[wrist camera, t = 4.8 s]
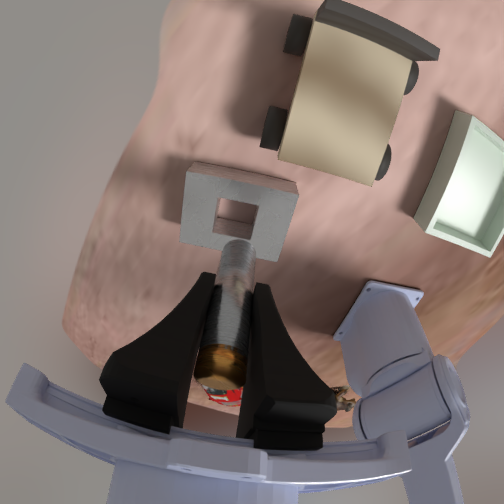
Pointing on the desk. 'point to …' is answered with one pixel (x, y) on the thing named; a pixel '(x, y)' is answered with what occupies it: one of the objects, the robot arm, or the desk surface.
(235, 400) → the race car
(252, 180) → the plate
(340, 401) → the frog figurine
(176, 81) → the desk surface
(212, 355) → the pin
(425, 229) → the tray
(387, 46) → the ramp trolley
